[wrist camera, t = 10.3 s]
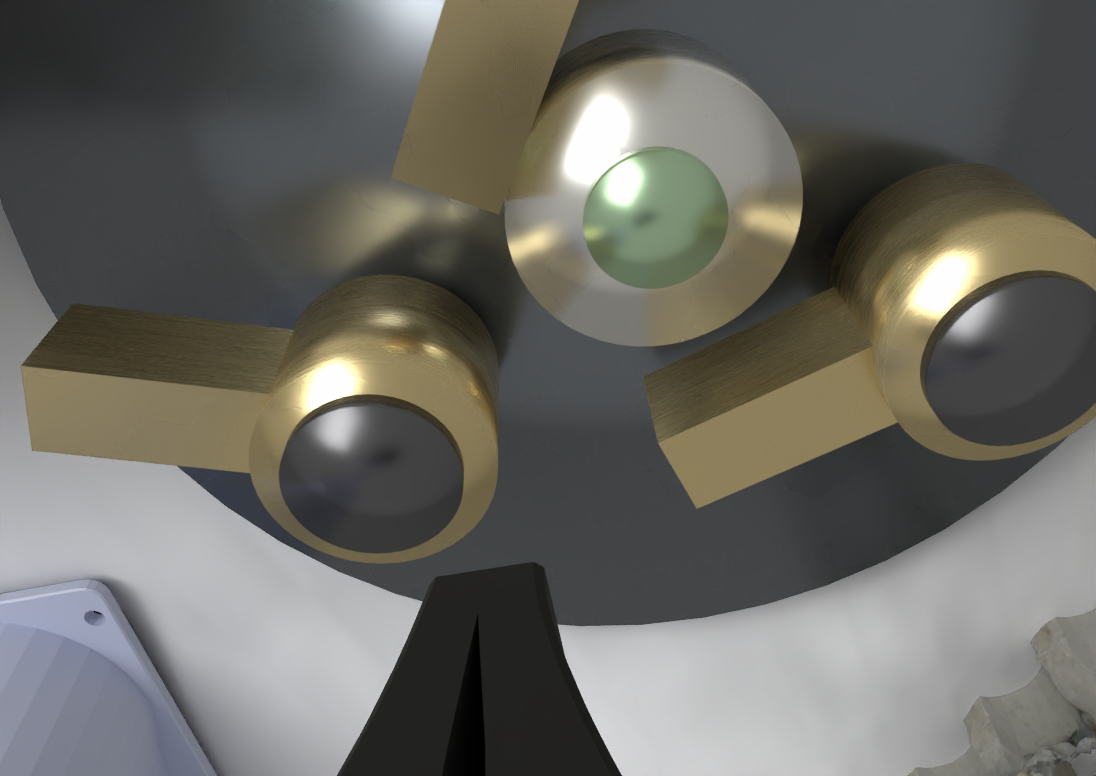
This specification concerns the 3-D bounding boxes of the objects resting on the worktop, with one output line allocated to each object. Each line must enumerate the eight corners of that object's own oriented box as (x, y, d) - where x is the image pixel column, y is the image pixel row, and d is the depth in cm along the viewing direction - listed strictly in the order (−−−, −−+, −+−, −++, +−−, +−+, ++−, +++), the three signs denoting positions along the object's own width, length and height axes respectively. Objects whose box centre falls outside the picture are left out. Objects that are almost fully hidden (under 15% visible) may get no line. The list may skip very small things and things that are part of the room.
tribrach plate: (1168, 511, 25) (1266, 620, 22) (256, 663, 27) (221, 785, 23) (1434, -950, 12) (1760, -1206, 9) (-321, -492, 14) (-568, -573, 11)
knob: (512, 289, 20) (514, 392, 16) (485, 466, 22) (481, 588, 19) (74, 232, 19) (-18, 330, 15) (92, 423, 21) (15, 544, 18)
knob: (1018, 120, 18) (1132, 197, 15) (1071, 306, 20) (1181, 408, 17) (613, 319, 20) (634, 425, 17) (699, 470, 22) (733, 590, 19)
